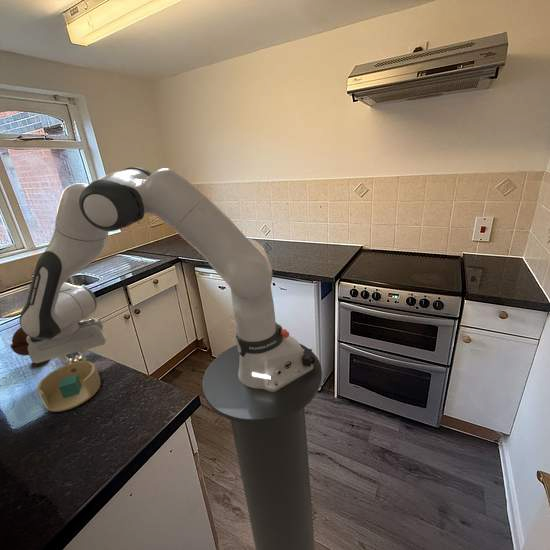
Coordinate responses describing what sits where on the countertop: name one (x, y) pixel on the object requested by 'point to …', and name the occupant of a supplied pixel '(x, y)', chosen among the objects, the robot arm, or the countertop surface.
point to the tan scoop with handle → (51, 382)
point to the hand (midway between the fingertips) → (77, 363)
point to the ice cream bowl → (23, 346)
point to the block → (70, 386)
